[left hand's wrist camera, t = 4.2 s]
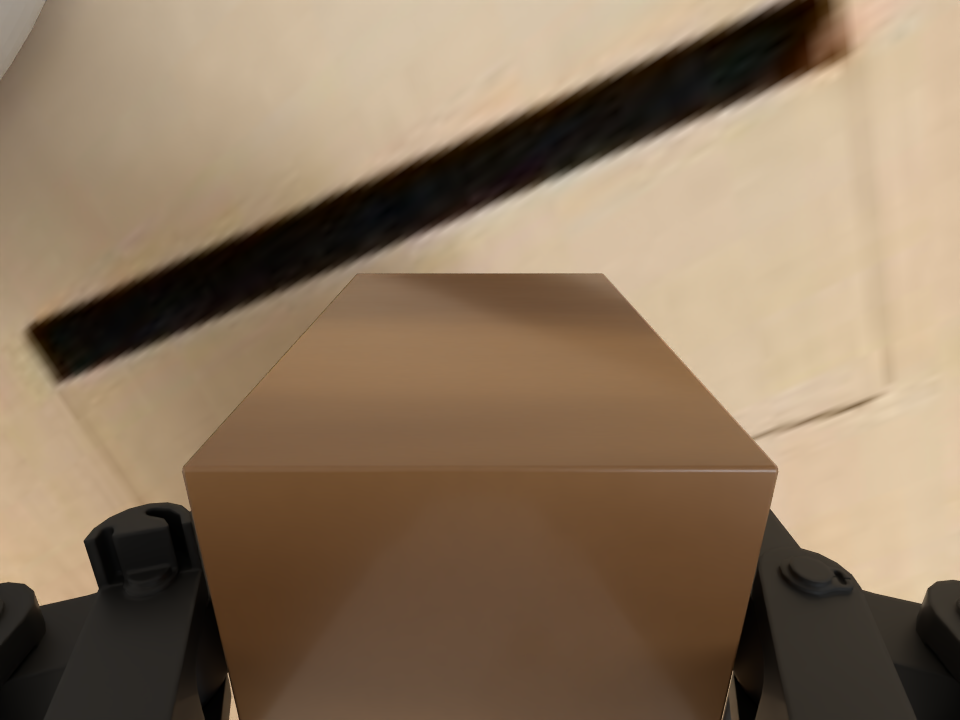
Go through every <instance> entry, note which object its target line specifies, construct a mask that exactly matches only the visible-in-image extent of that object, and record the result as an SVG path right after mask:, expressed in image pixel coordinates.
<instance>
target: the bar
mask: <svg viewBox="0 0 960 720" xmlns="http://www.w3.org/2000/svg"><path fill="white" fill-rule="evenodd" d="M182 473H183V477H184V481H185V486H186V490H187V494H188V499H189V503H190V507H191V512H192V516H193V520H194V525H195V529H196V534H197V538H198V542H199V547H200V551H201V555H202V560H203V564H204V568H205V573H206V577H207V581H208V586H209V590H210V595H211V599H212V603H213V608H214V612H215V616H216V621H217V625H218V629H219V634H220V638H221V643H222V647H223V651H224V656H225V660H226V664H227V669H228V673H229V677H230V682H231V686H232V690H233V695H234V699H235V704H236V708H237V712H238V717H239V720H722V715H723V711H724V706H725V702H726V698H727V693H728V689H729V685H730V680H731V676H732V671H733V667H734V663H735V658H736V654H737V650H738V645H739V641H740V637H741V632H742V628H743V623H744V619H745V615H746V610H747V606H748V602H749V597H750V593H751V589H752V584H753V580H754V575H755V571H756V567H757V562H758V558H759V554H760V549H761V545H762V540H763V536H764V532H765V527H766V523H767V519H768V514H769V510H770V506H771V501H772V497H773V492H774V488H775V484H776V479H777V475H778V468H777V466H776V465H775V463H774V462H773V461H772V460H771V459H770V458H769V457H768V456H767V455H766V453H765V452H764V451H763V450H762V449H761V448H760V447H759V446H758V445H757V443H756V442H755V441H754V440H753V439H752V438H751V437H750V436H749V435H748V434H747V432H746V431H745V430H744V429H743V428H742V427H741V426H740V425H739V424H738V422H737V421H736V420H735V419H734V418H733V417H732V416H731V415H730V414H729V412H728V411H727V410H726V409H725V408H724V407H723V406H722V405H721V404H720V403H719V401H718V400H717V399H716V398H715V397H714V396H713V395H712V394H711V393H710V391H709V390H708V389H707V388H706V387H705V386H704V385H703V384H702V383H701V381H700V380H699V379H698V378H697V377H696V376H695V375H694V374H693V373H692V372H691V370H690V369H689V368H688V367H687V366H686V365H685V364H684V363H683V362H682V360H681V359H680V358H679V357H678V356H677V355H676V354H675V353H674V352H673V350H672V349H671V348H670V347H669V346H668V345H667V344H666V343H665V342H664V341H663V339H662V338H661V337H660V336H659V335H658V334H657V333H656V332H655V331H654V329H653V328H652V327H651V326H650V325H649V324H648V323H647V322H646V321H645V320H644V318H643V317H642V316H641V315H640V314H639V313H638V312H637V311H636V310H635V308H634V307H633V306H632V305H631V304H630V303H629V302H628V301H627V300H626V298H625V297H624V296H623V295H622V294H621V293H620V292H619V291H618V290H617V289H616V287H615V286H614V285H613V284H612V283H611V282H610V281H609V280H608V279H607V277H606V276H605V275H604V274H357V275H356V276H355V277H354V278H353V279H352V280H351V281H350V282H349V283H348V285H347V286H346V287H345V288H344V289H343V290H342V291H341V292H340V293H339V295H338V296H337V297H336V298H335V299H334V300H333V301H332V302H331V303H330V305H329V306H328V307H327V308H326V309H325V310H324V311H323V312H322V313H321V315H320V316H319V317H318V318H317V319H316V320H315V321H314V322H313V323H312V324H311V326H310V327H309V328H308V329H307V330H306V331H305V332H304V333H303V334H302V336H301V337H300V338H299V339H298V340H297V341H296V342H295V343H294V344H293V346H292V347H291V348H290V349H289V350H288V351H287V352H286V353H285V354H284V356H283V357H282V358H281V359H280V360H279V361H278V362H277V363H276V364H275V366H274V367H273V368H272V369H271V370H270V371H269V372H268V373H267V374H266V375H265V377H264V378H263V379H262V380H261V381H260V382H259V383H258V384H257V385H256V387H255V388H254V389H253V390H252V391H251V392H250V393H249V394H248V395H247V397H246V398H245V399H244V400H243V401H242V402H241V403H240V404H239V405H238V407H237V408H236V409H235V410H234V411H233V412H232V413H231V414H230V415H229V417H228V418H227V419H226V420H225V421H224V422H223V423H222V424H221V425H220V426H219V428H218V429H217V430H216V431H215V432H214V433H213V434H212V435H211V436H210V438H209V439H208V440H207V441H206V442H205V443H204V444H203V445H202V446H201V448H200V449H199V450H198V451H197V452H196V453H195V454H194V455H193V456H192V458H191V459H190V460H189V461H188V462H187V463H186V464H185V465H184V466H183V471H182Z"/></svg>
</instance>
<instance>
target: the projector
mask: <svg viewBox="0 0 960 720" xmlns="http://www.w3.org/2000/svg"><path fill="white" fill-rule="evenodd" d="M45 2H46V0H0V80H1V79H2V77H3V76H4V74H5V73H6V71H7V70H8V68H9V67H10V65H11V64H12V62H13V61H14V59H15V57H16V56H17V54H18V52H19V50H20V49H21V47H22V45H23V44H24V42H25V40H26V39H27V37H28V35H29V34H30V32H31V30H32V28H33V26H34V24H35V22H36V20H37V18H38V16H39V14H40V12H41V10H42V8H43V6H44V4H45Z"/></svg>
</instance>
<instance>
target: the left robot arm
mask: <svg viewBox="0 0 960 720" xmlns="http://www.w3.org/2000/svg"><path fill="white" fill-rule="evenodd" d="M84 544H85V547H86V550H87V553H88V556H89V559H90V562H91V566H92V569H93V572H94V575H95V578H96V581H97V584H98V587H99V590H98V592H97V593H94V594H91V595H87V596H83V597H78V598H74V599H69V600H65V601H60V602H56V603H52V604H47V605H43V606H39V604H38V601H37V599H36V596H35V593H34V591H33V590H32V589H31V588H29V587H28V586H27V585H25V584H20V583H11V582H7V583H0V720H229V714H230V704H231V690H230V683H229V679H228V675H227V673H228V669H227V664H226V660H225V656H224V651H223V647H222V643H221V638H220V634H219V629H218V625H217V621H216V616H215V612H214V608H213V603H212V599H211V595H210V590H209V586H208V581H207V577H206V573H205V568H204V564H203V560H202V555H201V551H200V547H199V542H198V538H197V534H196V529H195V525H194V520H193V516H192V512H191V511H190V512H189V511H188V510H187V509H186V508H184V507H183V506H182V505H177V504H173V503H168V502H167V503H151V504H146V505H142V506H138V507H134V508H130V509H128V510H125V511H123V512H121V513H119V514H116V515H114V516H112V517H110V518H108V519H107V520H105V521H104V522H102V523H101V524H100V525H98V526H97V527H95V528H94V529H93V530H92V531H91V532H90V534H89V535H88V536H87V537H86V539H85V540H84ZM722 720H960V581H957V580H947V581H938V582H936V583H934V584H933V585H932V586H930V587H929V588H928V589H927V592H926V595H925V597H924V600H923V603H922V604H920V603H915V602H911V601H906V600H902V599H897V598H893V597H888V596H884V595H879V594H875V593H871V592H868V591H864V590H862V589H861V587H860V586H859V584H858V583H857V581H856V580H855V578H854V577H853V576H852V574H850V573H849V572H848V571H847V570H845V569H844V568H843V567H842V566H840V565H839V564H838V563H836V562H834V561H832V560H830V559H828V558H826V557H825V556H823V555H821V554H819V553H815V552H812V551H808V550H805V549H801V548H800V547H799V545H798V544H797V543H796V541H795V540H794V539H793V538H792V536H791V535H790V534H789V533H788V531H787V530H786V529H785V527H784V526H783V525H782V524H781V522H780V521H779V520H778V518H777V517H776V516H775V515H774V513H773V512H772V511H771V509H770V510H769V514H768V519H767V523H766V527H765V532H764V536H763V540H762V545H761V549H760V554H759V558H758V562H757V567H756V571H755V575H754V580H753V584H752V589H751V593H750V597H749V602H748V606H747V610H746V615H745V619H744V623H743V628H742V632H741V637H740V641H739V645H738V650H737V654H736V658H735V663H734V667H733V675H732V679H731V683H730V688H729V692H728V696H727V701H726V705H725V709H724V714H723V719H722Z"/></svg>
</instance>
